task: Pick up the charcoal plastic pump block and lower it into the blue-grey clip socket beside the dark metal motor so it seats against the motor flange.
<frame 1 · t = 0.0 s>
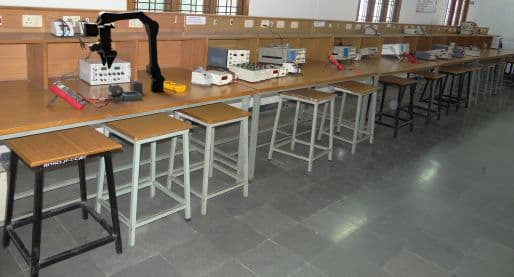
hand: (106, 67, 222), 14 cm above the table, fingers open, 9 cm apart
motor mount: (130, 98, 222), on the table
pump block: (136, 93, 234), on the table
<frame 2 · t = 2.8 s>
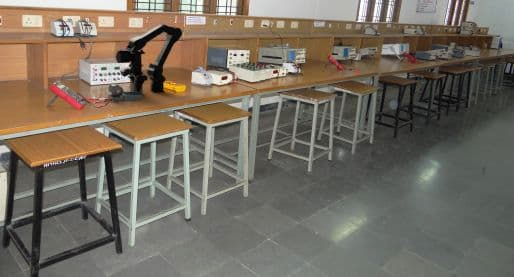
hand: (136, 90, 233), 2 cm above the table, fingers closed on pump block, 5 cm apart
pump block: (136, 93, 234), on the table, touching gripper
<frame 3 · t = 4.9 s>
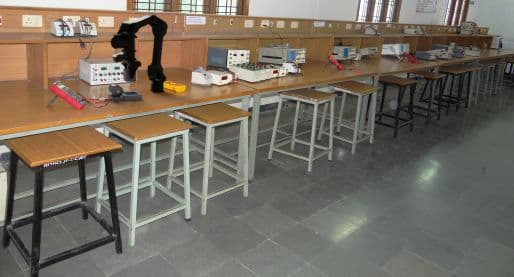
hand: (129, 77, 219), 11 cm above the table, fingers closed on pump block, 5 cm apart
pump block: (129, 80, 219), point 9 cm above the table, touching gripper
when the fingers open (4 cm above the table, at t = 6.9 s): pump block drops 2 cm, resting in motor mount.
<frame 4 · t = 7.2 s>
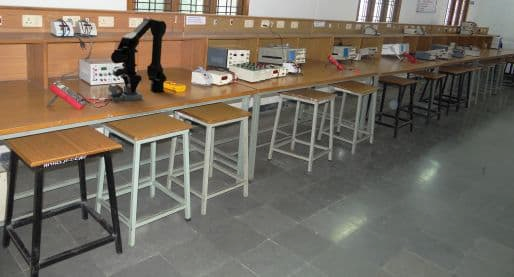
hand: (130, 91, 221), 4 cm above the table, fingers open, 8 cm apart
pump block: (130, 98, 222), resting in motor mount
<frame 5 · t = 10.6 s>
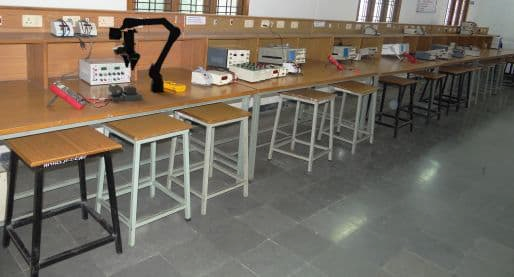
hand: (129, 69, 235), 12 cm above the table, fingers open, 9 cm apart
nothing on the table moved.
at the end: pump block 0.0 cm off-centre on the motor mount, point 0.0 cm above the motor mount's base; pump block tilted 0°; the gripper is holding nothing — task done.
